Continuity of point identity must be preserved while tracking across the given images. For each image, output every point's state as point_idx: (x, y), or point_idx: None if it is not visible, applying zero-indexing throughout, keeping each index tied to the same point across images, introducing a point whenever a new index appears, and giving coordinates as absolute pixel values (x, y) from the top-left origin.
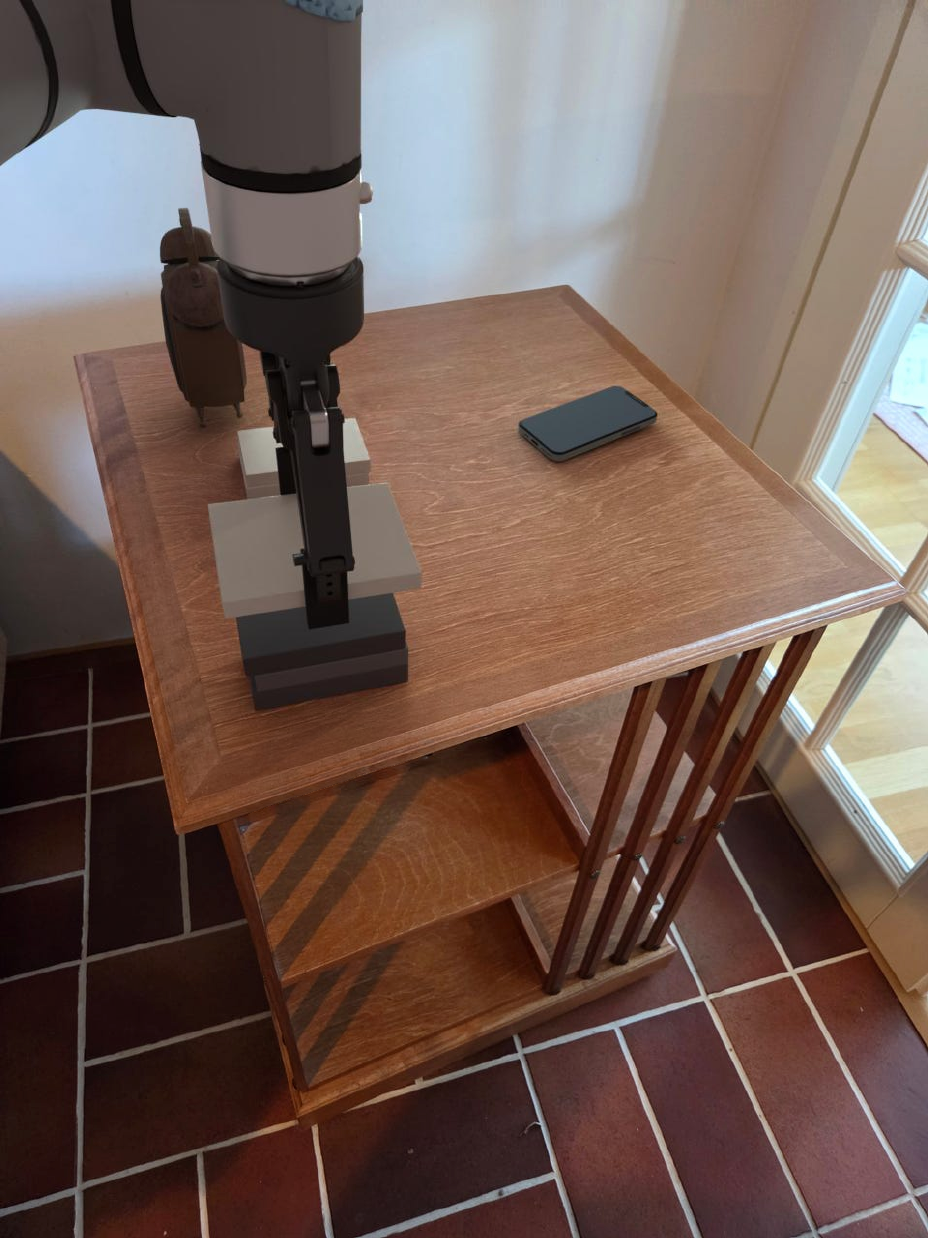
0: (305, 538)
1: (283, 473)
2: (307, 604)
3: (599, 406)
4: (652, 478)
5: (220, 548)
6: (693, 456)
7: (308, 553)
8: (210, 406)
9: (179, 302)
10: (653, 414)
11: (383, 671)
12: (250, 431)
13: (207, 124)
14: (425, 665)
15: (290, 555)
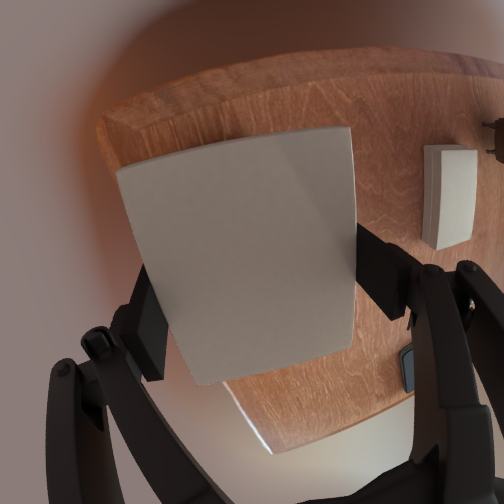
0: (99, 378)
1: (376, 256)
2: (137, 279)
3: None
4: (369, 392)
5: (241, 150)
6: (376, 404)
7: (68, 380)
8: (494, 134)
9: None
10: (407, 392)
11: None
12: (475, 159)
13: None
14: None
15: (221, 258)
